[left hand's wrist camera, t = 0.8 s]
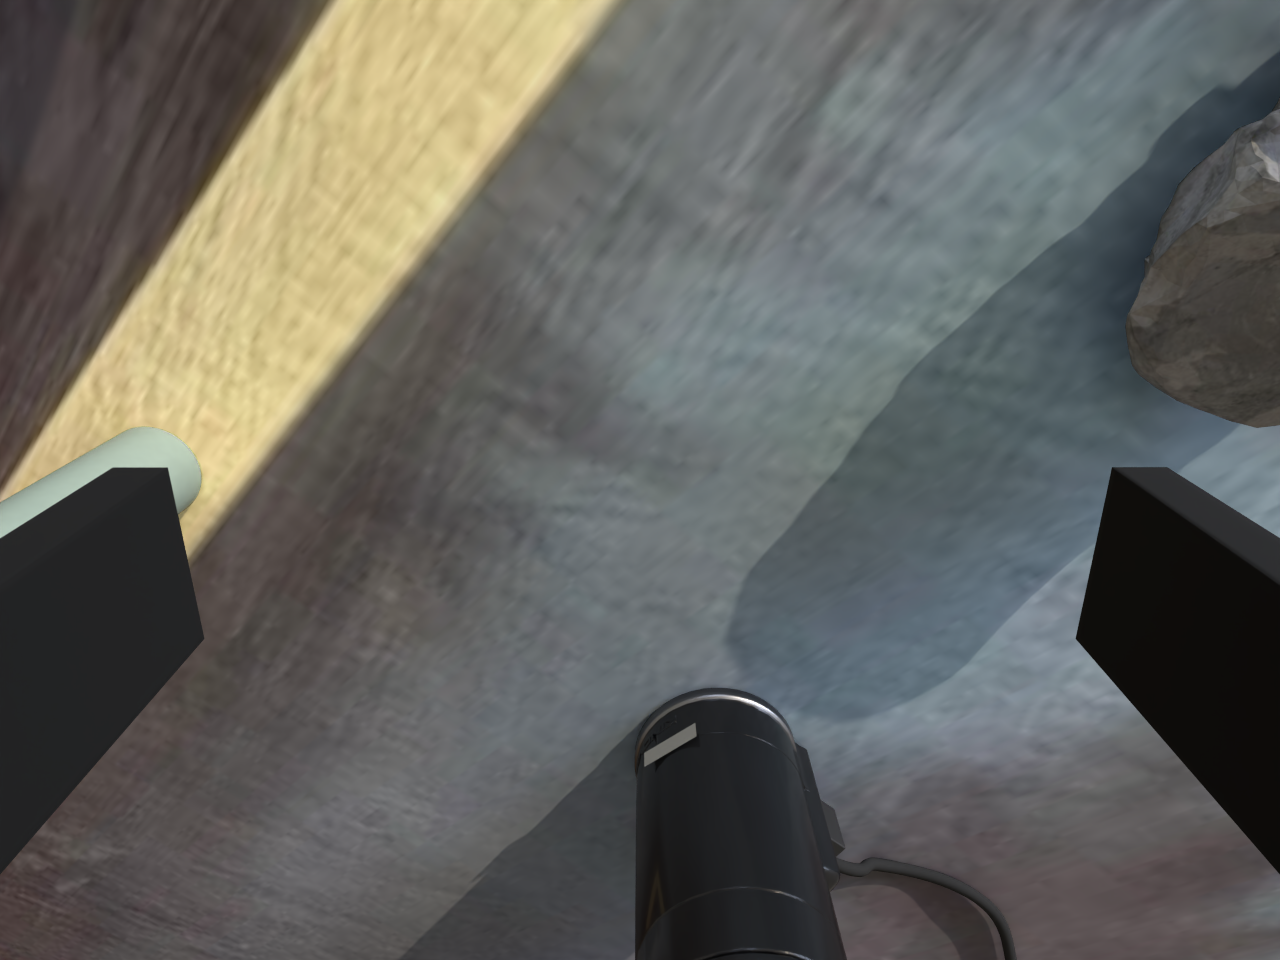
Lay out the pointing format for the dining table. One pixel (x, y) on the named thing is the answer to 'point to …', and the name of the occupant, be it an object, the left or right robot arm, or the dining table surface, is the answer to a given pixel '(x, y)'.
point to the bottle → (117, 452)
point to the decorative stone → (1217, 284)
